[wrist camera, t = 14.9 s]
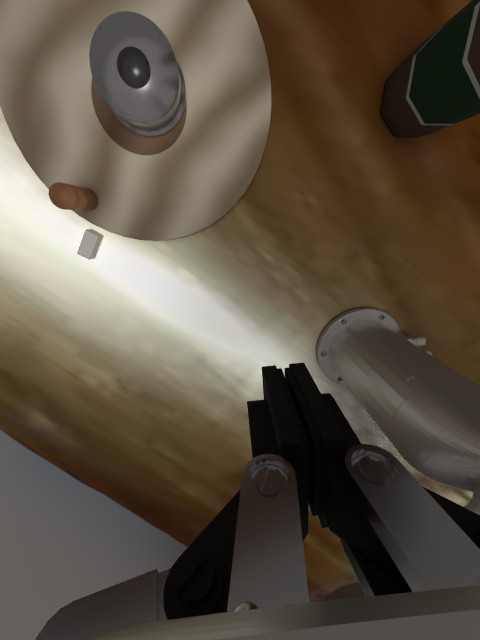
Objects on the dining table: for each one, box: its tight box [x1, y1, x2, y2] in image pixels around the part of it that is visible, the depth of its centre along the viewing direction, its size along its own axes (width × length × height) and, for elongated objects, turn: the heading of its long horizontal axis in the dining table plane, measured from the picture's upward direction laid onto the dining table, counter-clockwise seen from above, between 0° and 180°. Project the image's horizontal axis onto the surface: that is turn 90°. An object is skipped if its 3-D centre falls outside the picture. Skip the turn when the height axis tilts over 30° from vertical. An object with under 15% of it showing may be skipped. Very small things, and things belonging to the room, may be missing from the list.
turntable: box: [0, 0, 271, 241], centre depth 24 cm, size 26×26×6 cm
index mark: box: [77, 229, 103, 260], centre depth 30 cm, size 3×1×2 cm, turn 150°
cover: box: [89, 11, 186, 138], centre depth 23 cm, size 8×8×4 cm
